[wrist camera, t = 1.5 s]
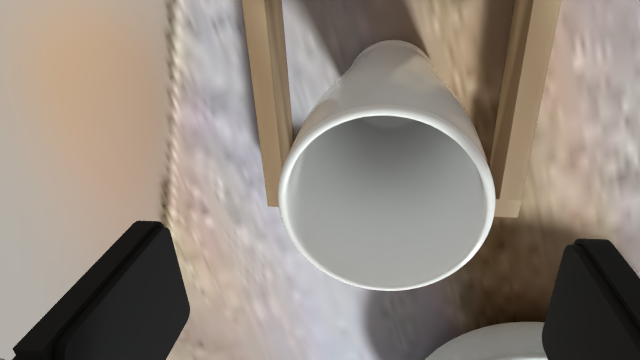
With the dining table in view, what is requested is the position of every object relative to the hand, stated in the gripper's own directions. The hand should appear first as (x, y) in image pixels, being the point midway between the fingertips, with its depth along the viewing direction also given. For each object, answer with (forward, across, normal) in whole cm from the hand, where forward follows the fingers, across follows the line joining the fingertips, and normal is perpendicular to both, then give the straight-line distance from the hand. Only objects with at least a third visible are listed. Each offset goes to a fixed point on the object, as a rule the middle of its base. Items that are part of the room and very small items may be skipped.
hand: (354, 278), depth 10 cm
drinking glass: (+18, -1, 0) cm, 18 cm away
